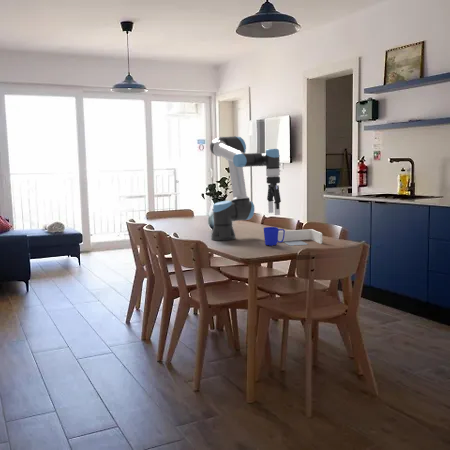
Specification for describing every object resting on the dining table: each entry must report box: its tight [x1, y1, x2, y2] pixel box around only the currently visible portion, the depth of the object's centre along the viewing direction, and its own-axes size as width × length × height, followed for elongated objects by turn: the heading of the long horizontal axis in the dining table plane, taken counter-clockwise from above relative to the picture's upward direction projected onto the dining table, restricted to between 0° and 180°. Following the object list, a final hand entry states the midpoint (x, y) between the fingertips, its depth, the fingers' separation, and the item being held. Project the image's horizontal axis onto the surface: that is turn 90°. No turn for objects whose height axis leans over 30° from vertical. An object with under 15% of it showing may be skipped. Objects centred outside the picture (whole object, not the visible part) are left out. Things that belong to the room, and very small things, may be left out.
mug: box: [263, 226, 286, 247], centre depth 303 cm, size 8×12×10 cm
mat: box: [281, 240, 309, 247], centre depth 308 cm, size 11×15×1 cm
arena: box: [278, 228, 323, 245], centre depth 310 cm, size 25×17×6 cm
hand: (274, 213), depth 301 cm, fingers open, 13 cm apart
